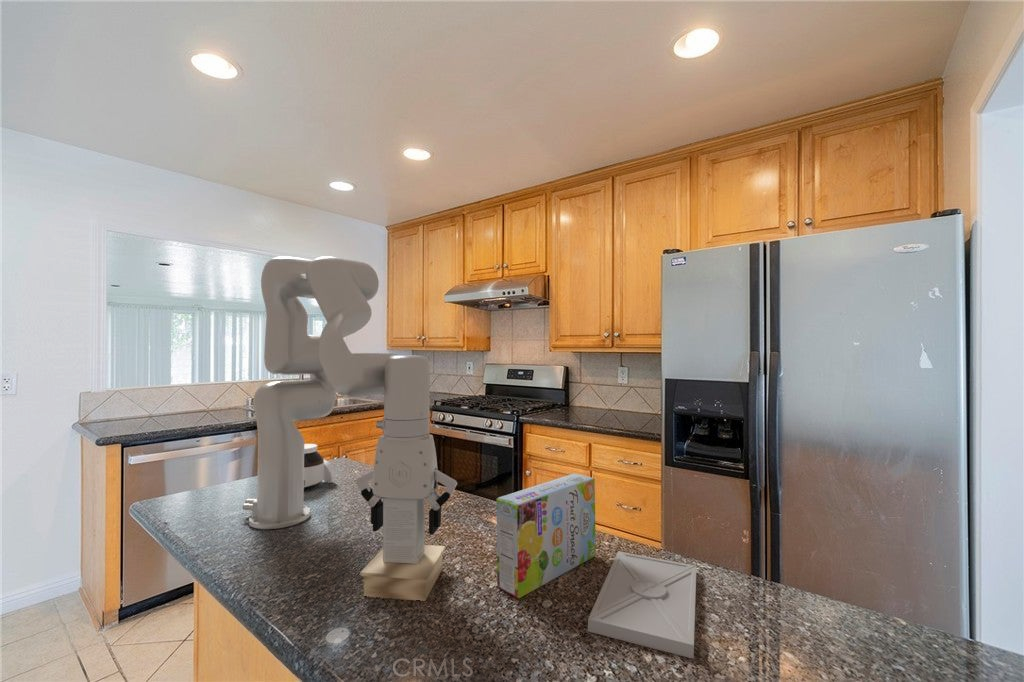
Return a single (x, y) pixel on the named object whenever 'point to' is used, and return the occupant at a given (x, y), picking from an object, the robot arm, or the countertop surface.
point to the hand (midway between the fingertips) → (405, 529)
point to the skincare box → (403, 530)
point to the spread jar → (316, 468)
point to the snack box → (544, 532)
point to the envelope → (648, 604)
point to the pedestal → (403, 576)
